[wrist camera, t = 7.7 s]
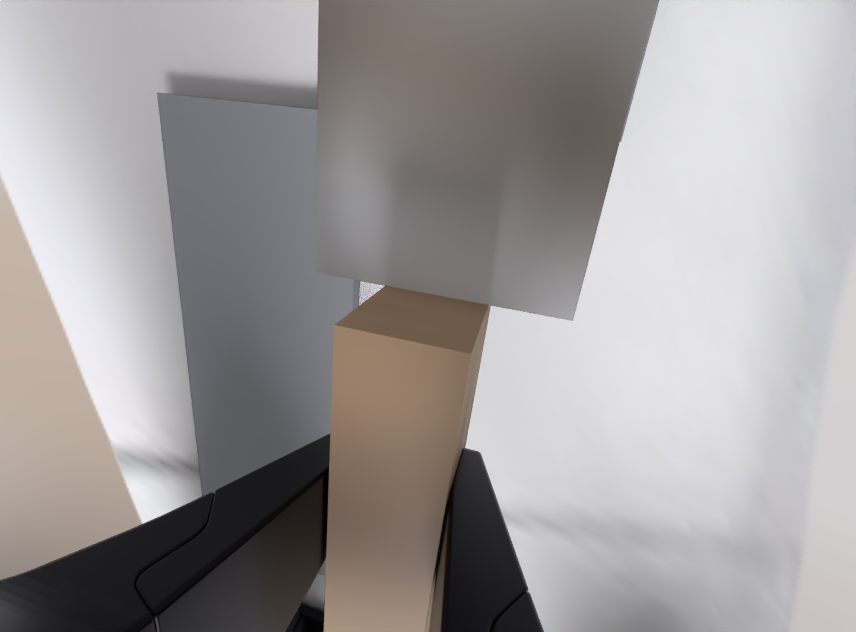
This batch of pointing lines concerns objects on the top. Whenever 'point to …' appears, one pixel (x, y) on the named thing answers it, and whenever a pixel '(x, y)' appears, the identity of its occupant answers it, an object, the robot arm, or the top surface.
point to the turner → (446, 243)
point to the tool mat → (250, 280)
